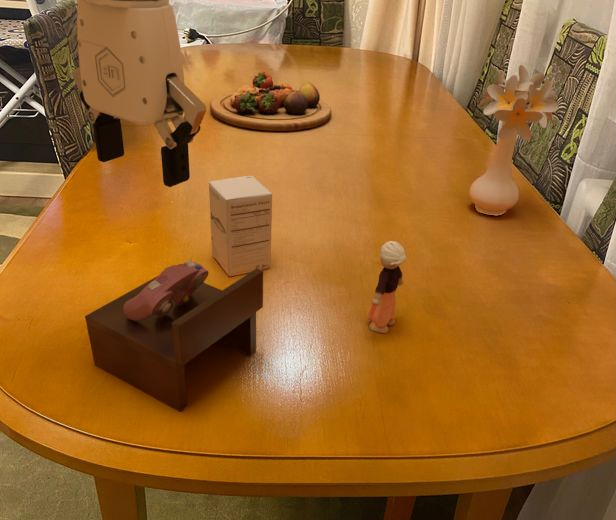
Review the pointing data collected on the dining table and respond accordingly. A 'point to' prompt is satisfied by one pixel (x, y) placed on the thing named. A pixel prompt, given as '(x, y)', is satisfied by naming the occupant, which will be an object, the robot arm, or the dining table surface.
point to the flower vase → (511, 134)
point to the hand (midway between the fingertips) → (143, 170)
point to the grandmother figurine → (387, 287)
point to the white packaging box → (240, 224)
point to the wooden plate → (271, 106)
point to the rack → (174, 335)
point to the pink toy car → (166, 291)
